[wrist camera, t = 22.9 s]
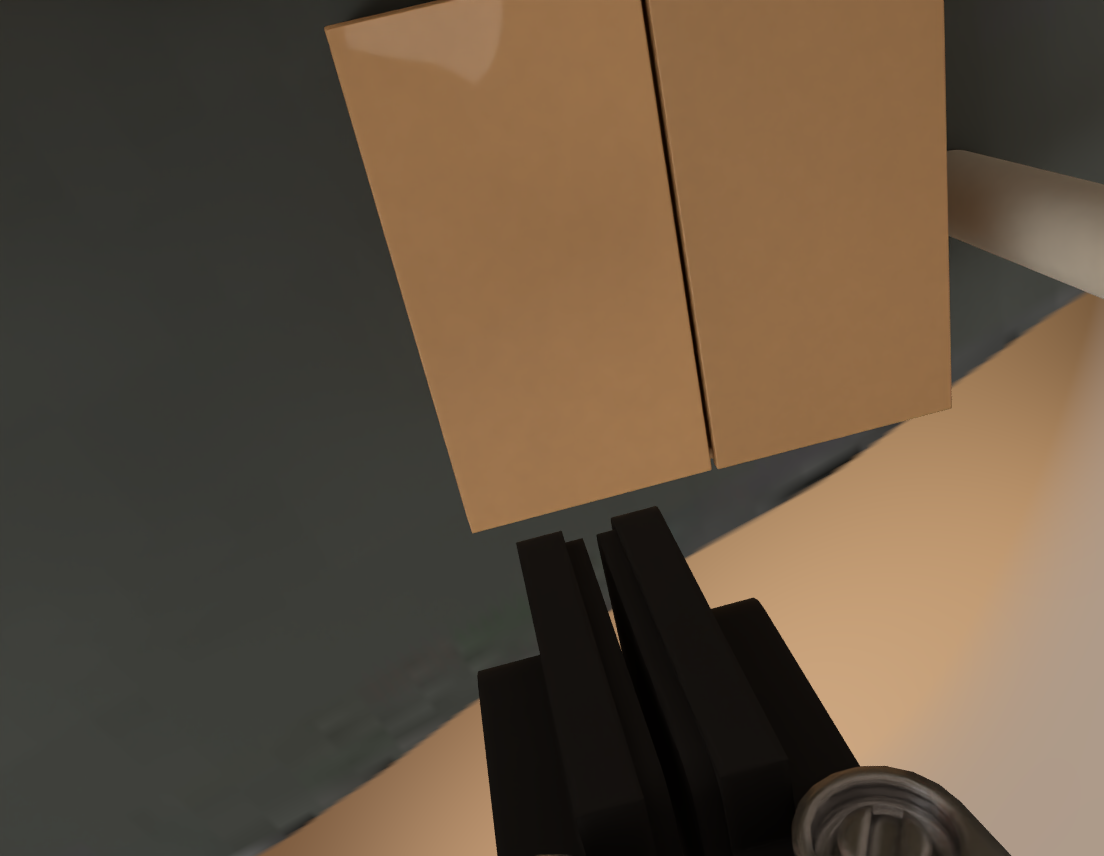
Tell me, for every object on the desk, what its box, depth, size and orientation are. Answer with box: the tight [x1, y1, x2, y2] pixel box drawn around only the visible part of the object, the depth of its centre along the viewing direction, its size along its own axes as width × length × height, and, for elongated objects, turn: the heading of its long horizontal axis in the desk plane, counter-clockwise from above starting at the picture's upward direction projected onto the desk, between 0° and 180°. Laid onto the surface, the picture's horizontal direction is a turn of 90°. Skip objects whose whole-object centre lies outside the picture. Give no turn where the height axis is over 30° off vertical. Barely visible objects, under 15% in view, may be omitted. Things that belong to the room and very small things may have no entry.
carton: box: [324, 0, 952, 521], centre depth 28 cm, size 15×14×9 cm
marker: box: [947, 150, 1104, 299], centre depth 27 cm, size 3×3×14 cm
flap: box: [326, 0, 712, 533], centre depth 24 cm, size 7×14×1 cm, turn 12°
